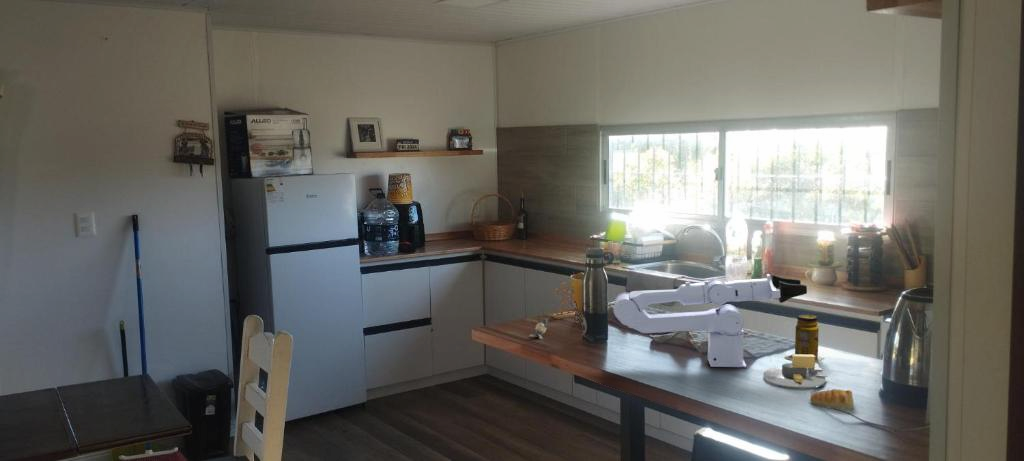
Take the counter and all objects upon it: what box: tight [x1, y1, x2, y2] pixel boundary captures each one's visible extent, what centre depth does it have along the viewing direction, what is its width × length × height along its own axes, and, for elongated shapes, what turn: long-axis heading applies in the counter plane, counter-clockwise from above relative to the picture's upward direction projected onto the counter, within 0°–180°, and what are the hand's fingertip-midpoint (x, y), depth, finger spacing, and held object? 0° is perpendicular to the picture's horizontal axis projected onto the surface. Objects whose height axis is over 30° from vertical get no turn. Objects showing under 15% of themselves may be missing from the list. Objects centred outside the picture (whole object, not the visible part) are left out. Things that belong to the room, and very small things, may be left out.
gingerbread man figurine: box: [551, 282, 576, 320], centre depth 274 cm, size 9×4×12 cm, turn 117°
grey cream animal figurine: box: [529, 317, 548, 340], centre depth 249 cm, size 5×5×6 cm
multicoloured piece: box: [781, 353, 816, 382], centre depth 199 cm, size 8×9×5 cm
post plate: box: [763, 362, 828, 390], centre depth 201 cm, size 16×15×3 cm
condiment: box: [783, 314, 825, 362], centre depth 218 cm, size 7×8×12 cm
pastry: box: [810, 388, 855, 410], centre depth 183 cm, size 9×7×4 cm
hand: (803, 286), depth 210 cm, fingers open, 7 cm apart
